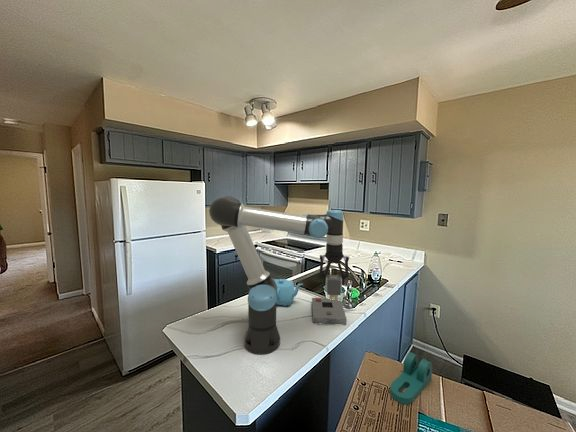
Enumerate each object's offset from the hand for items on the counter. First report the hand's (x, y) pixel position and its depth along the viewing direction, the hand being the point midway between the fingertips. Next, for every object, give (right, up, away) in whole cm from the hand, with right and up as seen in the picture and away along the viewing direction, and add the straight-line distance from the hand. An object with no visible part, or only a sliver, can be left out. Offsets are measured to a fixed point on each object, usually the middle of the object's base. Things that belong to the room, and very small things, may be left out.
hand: (333, 290), depth 118 cm
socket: (-1, -16, +14) cm, 21 cm away
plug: (0, -3, 0) cm, 3 cm away
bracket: (+19, -22, -35) cm, 45 cm away
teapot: (-24, -14, +25) cm, 38 cm away
